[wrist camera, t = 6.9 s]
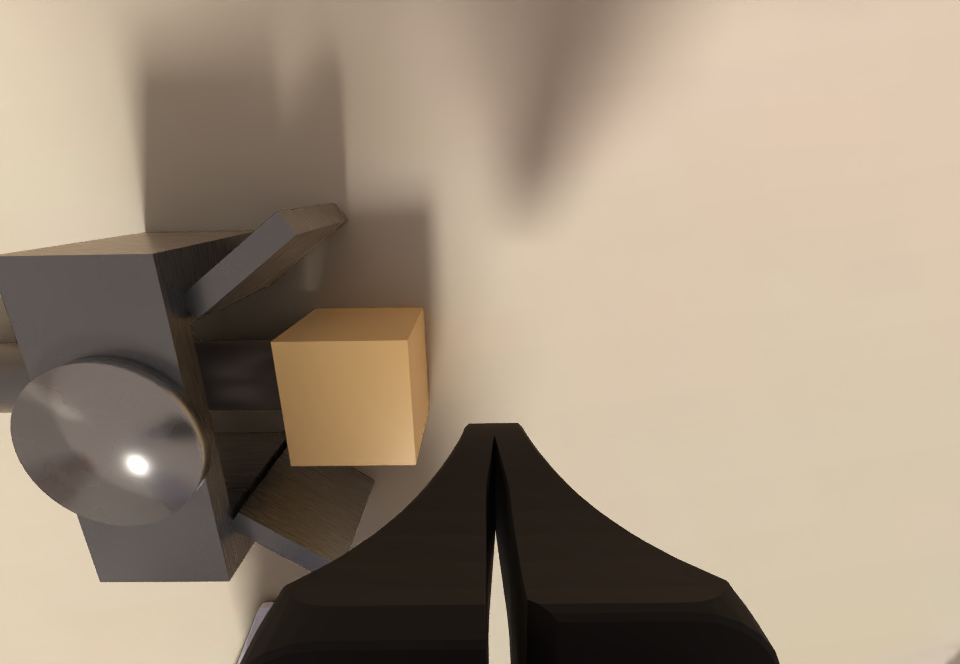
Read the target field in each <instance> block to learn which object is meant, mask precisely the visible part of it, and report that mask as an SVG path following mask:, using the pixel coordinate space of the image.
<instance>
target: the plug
mask: <svg viewBox="0 0 960 664" xmlns="http://www.w3.org/2000/svg"><path fill="white" fill-rule="evenodd" d="M194 343H195V348H196V353H197V357H198V362H199V366H200V371H201V375H202V380H203V384H204V389H205V393H206V398H207V403H208V407H209V410H282V414H283V420H284V427H285V433H286V439H287V445H288V451H289V457H290V463H291V466H370V465H416V462H417V458H418V454H419V450H420V446H421V442H422V438H423V434H424V429H425V425H426V421H427V417H428V413H429V395H428V377H427V359H426V341H425V323H424V307H390V308H316V309H314V310H313V311H312V312H310V313H309V314H308V315H306V316H305V317H304V318H302V319H301V320H300V321H298V322H297V323H296V324H294V325H293V326H291V327H290V328H289V329H287V330H286V331H285V332H283V333H282V334H281V335H279V336H278V337H277V338H275V339H274V340H212V341H194ZM30 382H31V380H30V377H29V374H28V371H27V368H26V366H25V363H24V360H23V357H22V354H21V351H20V348H19V345H18V343H0V413H12V410H13V407H14V404H15V402H16V400H17V398H18V396H19V394H20V393H21V391H22V390H23V389H24V388H25V387H26V386H27V384H29V383H30Z"/></svg>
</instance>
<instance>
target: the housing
mask: <svg viewBox="0 0 960 664" xmlns="http://www.w3.org/2000/svg"><path fill="white" fill-rule="evenodd" d="M346 221H347V218H346V217H345V216H344V215H343V214H342V212H341V211H340V210H339V209H338V207H337V206H336V205H335V204H334V203H332V204H326V205H319V206H312V207H306V208H299V209H292V210H286V211H279V212H276V213H275V214H274V215H273V216H272V217H270V218H269V219H268V220H267V221H266V222H265V223H264V224H262V225H261V226H260V227H259V228H258V229H257V230H256V231H210V232H146V233H138V234H131V235H125V236H118V237H112V238H105V239H99V240H92V241H85V242H79V243H72V244H66V245H59V246H53V247H46V248H39V249H33V250H26V251H20V252H13V253H7V254H0V293H1V296H2V299H3V302H4V305H5V308H6V311H7V313H8V316H9V319H10V322H11V325H12V328H13V331H14V334H15V337H16V340H17V342H18V345H19V348H20V351H21V354H22V357H23V360H24V363H25V366H26V368H27V371H28V374H29V377H30V380H31V382H30V383H29V384H27V386H26V387H25V388H24V389H23V390H22V391H21V393H20V394H19V396H18V398H17V400H16V402H15V404H14V407H13V410H12V415H11V436H12V442H13V445H14V448H15V452H16V454H17V456H18V458H19V460H20V462H21V464H22V466H23V467H24V469H25V471H26V472H27V474H28V475H29V476H30V477H31V479H32V480H33V481H34V482H35V483H36V484H37V486H38V487H39V488H40V489H41V490H42V491H43V492H45V493H46V494H47V495H48V496H49V497H50V498H52V499H53V500H54V501H56V502H57V503H59V504H60V505H62V506H63V507H65V508H67V509H68V510H70V511H72V512H74V513H76V514H77V516H78V519H79V522H80V525H81V528H82V531H83V534H84V536H85V539H86V542H87V545H88V548H89V551H90V554H91V557H92V560H93V563H94V565H95V568H96V571H97V574H98V577H99V580H100V582H200V581H230V580H231V578H232V576H233V575H234V573H235V572H236V570H237V569H238V567H239V565H240V564H241V562H242V561H243V559H244V558H245V556H246V554H247V553H248V551H249V550H250V548H251V547H252V545H253V543H254V542H257V543H259V544H261V545H263V546H264V547H266V548H268V549H270V550H272V551H274V552H276V553H278V554H280V555H282V556H283V557H285V558H287V559H289V560H291V561H293V562H295V563H297V564H299V565H300V566H302V567H304V568H306V569H308V570H310V571H312V572H313V571H315V570H317V569H319V568H321V567H323V566H325V565H326V564H328V563H330V562H332V561H334V560H335V559H337V558H339V557H340V556H342V555H344V554H345V553H347V552H348V551H349V549H350V546H351V543H352V541H353V538H354V535H355V532H356V530H357V527H358V524H359V522H360V519H361V516H362V513H363V511H364V508H365V505H366V502H367V500H368V497H369V494H370V492H371V489H372V486H373V483H374V480H372V479H370V478H369V477H367V476H365V475H364V474H362V473H360V472H358V471H357V470H355V469H353V468H352V467H350V466H291V463H290V457H289V451H288V445H287V439H286V433H214V430H213V425H212V421H211V416H210V412H209V407H208V403H207V398H206V393H205V389H204V384H203V380H202V375H201V371H200V366H199V362H198V357H197V353H196V348H195V343H194V339H193V334H192V330H191V325H190V324H191V323H193V322H195V321H197V320H199V319H201V318H203V317H205V316H208V315H210V314H212V313H214V312H216V311H218V310H220V309H222V308H224V307H226V306H228V305H230V304H232V303H234V302H236V301H238V300H240V299H242V298H245V297H247V296H249V295H251V294H253V293H255V292H257V291H259V290H261V289H263V288H265V287H267V286H268V285H270V284H272V283H273V282H274V281H275V280H277V279H278V278H279V277H280V276H281V275H283V274H284V273H285V272H286V271H287V270H289V269H290V268H291V267H292V266H293V265H295V264H296V263H297V262H298V261H299V260H301V259H302V258H303V257H304V256H305V255H306V254H308V253H309V252H310V251H311V250H312V249H314V248H315V247H316V246H317V245H318V244H320V243H321V242H322V241H323V240H324V239H326V238H327V237H328V236H329V235H330V234H332V233H333V232H334V231H335V230H336V229H338V228H339V227H340V226H341V225H342V224H343V223H345V222H346Z"/></svg>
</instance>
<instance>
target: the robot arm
mask: <svg viewBox="0 0 960 664" xmlns="http://www.w3.org/2000/svg"><path fill="white" fill-rule="evenodd" d="M495 530H496V538H497V545H498V552H499V559H500V566H501V574H502V581H503V588H504V595H505V602H506V609H507V617H508V627H509V638H510V658H511V664H779V661H778V658H777V655H776V652H775V650H774V649H773V647H772V645H771V644H770V642H769V641H768V639H767V637H766V636H765V634H764V633H763V631H762V629H761V628H760V626H759V624H758V623H757V622H756V620H755V619H754V617H753V616H752V614H751V613H750V611H749V610H748V608H747V607H746V606H745V604H744V603H743V602H742V600H741V599H740V598H739V596H738V595H737V594H736V593H735V591H734V590H733V589H732V587H731V586H730V584H729V583H728V582H727V581H726V580H724V579H722V578H719V577H717V576H715V575H713V574H710V573H708V572H706V571H704V570H701V569H699V568H697V567H695V566H692V565H690V564H688V563H686V562H683V561H681V560H679V559H677V558H675V557H673V556H671V555H669V554H667V553H665V552H663V551H662V550H660V549H658V548H656V547H654V546H652V545H651V544H649V543H647V542H645V541H643V540H642V539H640V538H638V537H637V536H635V535H633V534H632V533H630V532H628V531H627V530H625V529H624V528H622V527H621V526H619V525H618V524H616V523H615V522H614V521H612V520H611V519H609V518H608V517H606V516H605V515H603V514H602V513H601V512H599V511H598V510H597V509H595V508H594V507H593V506H592V505H591V504H589V503H588V502H587V501H586V500H584V499H583V498H582V497H581V496H580V495H578V494H577V493H576V492H575V491H574V490H573V489H572V488H571V487H570V486H569V485H568V484H567V483H566V482H565V481H564V480H563V479H562V478H561V477H560V476H559V475H558V474H557V472H556V471H555V470H554V469H553V468H552V467H551V466H550V464H549V463H548V462H547V461H546V460H545V459H544V457H543V456H542V455H541V454H540V452H539V451H538V450H537V448H536V447H535V446H534V444H533V443H532V442H531V440H530V439H529V437H528V436H527V434H526V433H525V431H524V429H523V428H522V427H521V426H520V425H519V424H518V423H485V424H468V425H467V426H466V427H465V429H464V431H463V434H462V436H461V437H460V439H459V441H458V443H457V445H456V446H455V448H454V450H453V451H452V453H451V454H450V455H449V457H448V458H447V460H446V461H445V463H444V464H443V466H442V467H441V468H440V470H439V471H438V472H437V473H436V475H435V476H434V477H433V478H432V480H431V481H430V482H429V483H428V485H427V486H426V487H425V488H424V489H423V490H422V492H421V493H420V494H419V495H418V496H417V497H416V498H415V499H414V500H413V501H412V502H411V503H410V504H409V505H408V506H407V507H406V508H405V509H404V510H403V511H402V512H401V513H400V514H398V515H397V516H396V517H395V518H394V519H393V520H391V521H390V522H389V523H388V524H386V525H385V526H384V527H383V528H381V529H380V530H379V531H378V532H376V533H375V534H374V535H372V536H371V537H369V538H368V539H367V540H365V541H364V542H362V543H361V544H359V545H358V546H356V547H355V548H353V549H352V550H350V551H348V552H347V553H345V554H344V555H342V556H340V557H339V558H337V559H335V560H334V561H332V562H330V563H328V564H326V565H325V566H323V567H321V568H319V569H317V570H315V571H313V572H311V573H309V574H307V575H306V576H304V577H302V578H300V579H298V580H296V581H294V582H292V583H290V584H288V585H286V586H284V588H283V589H282V591H281V592H280V594H279V596H278V597H277V599H276V601H275V602H265V603H263V604H262V605H261V606H260V608H259V610H258V612H257V614H256V617H255V619H254V622H253V624H252V627H251V629H250V632H249V635H248V637H247V640H246V642H245V645H244V647H243V650H242V653H241V655H240V658H239V660H238V663H237V664H489V646H488V633H489V610H490V597H491V583H492V570H493V556H494V543H495Z"/></svg>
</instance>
